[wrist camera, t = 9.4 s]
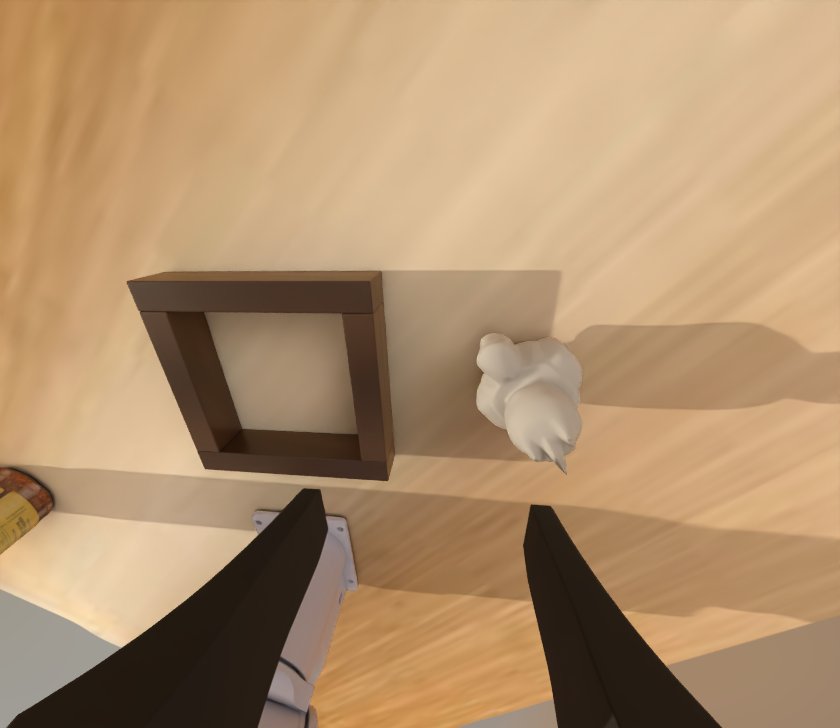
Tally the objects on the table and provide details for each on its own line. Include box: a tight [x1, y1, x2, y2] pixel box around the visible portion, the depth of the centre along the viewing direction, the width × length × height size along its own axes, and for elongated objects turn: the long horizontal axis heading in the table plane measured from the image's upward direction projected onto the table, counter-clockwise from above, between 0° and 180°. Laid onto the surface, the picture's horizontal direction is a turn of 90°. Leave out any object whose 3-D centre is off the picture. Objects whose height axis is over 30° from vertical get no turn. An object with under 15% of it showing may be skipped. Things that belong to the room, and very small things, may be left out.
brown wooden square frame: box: [127, 271, 395, 481], centre depth 20 cm, size 13×13×2 cm
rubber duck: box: [476, 333, 582, 475], centre depth 15 cm, size 5×7×8 cm
